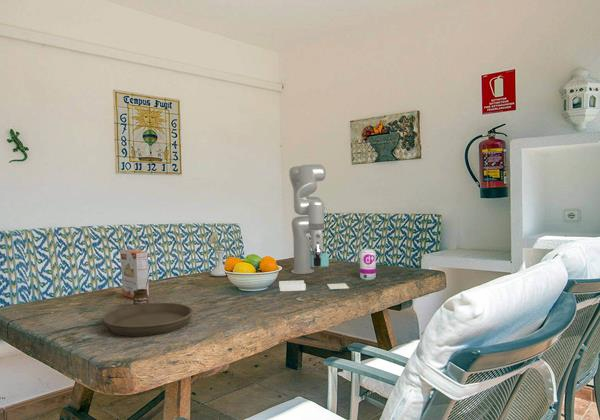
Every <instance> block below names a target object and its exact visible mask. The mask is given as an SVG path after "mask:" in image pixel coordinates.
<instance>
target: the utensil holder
mask: <svg viewBox="0 0 600 420" xmlns="http://www.w3.org/2000/svg"><path fill="white" fill-rule="evenodd" d="M149 277H150V276H148V279H150V278H149ZM148 279H147V283H146V287H147V284H148ZM136 282H138V281H136ZM137 284H139V283H137ZM133 285H134V284H133ZM138 287H139V286H138ZM132 302H133V304H132V305H138V304H147V303H150V302H149V298H148V294H147V289H146V288H145V289H137V290H135V289H134V296H133V301H132Z"/></svg>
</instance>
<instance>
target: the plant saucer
mask: <svg viewBox="0 0 600 420" xmlns="http://www.w3.org/2000/svg"><path fill="white" fill-rule="evenodd" d="M193 315H194V309H193V308H192V307H191V306H189V305H187V304H183V303H175V302H149V303H147V304H138V305H133V304H132V305H128V306H122V307H118V308H116V309H114V310H111V311H109V312H107V313H105V314H104V315H103V316H102V318H101V320H102V323H103V324H104V326H105V327H107V328H108V329H109V331H111V332H112V333H113V334H117V335H120V336H127V335H128V336H129V337H131V336H132V337H137V336H138V337H139V336H141V337H143V336H142V335H145V336H152V335H153V336H154V335H158V334H159V335H160V334H165V333H169V332H173V331H176V330H178V329H181V328H183V327H184V326H186V324H187V323H188V321H189V320H190V319H192V317H193Z"/></svg>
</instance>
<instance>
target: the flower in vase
mask: <svg viewBox="0 0 600 420" xmlns="http://www.w3.org/2000/svg"><path fill="white" fill-rule="evenodd" d="M218 234H219V233H218V232H217V231H214V232H213V233H212V234H211V235H210V237H209V239H208V244H213V243H214V242H215V243H216V245H215V246H214V247H213V250H215V252H216V254H217V259H218V263H217V265H216V266H215V267H214V268H213V269H211V271H210V275H211V276H213V277H227V276H226V274H225V272H224V267H226V265H224V263H223V257H224V253H226V252H225V250H222V249H223V247H224V246H223V244H222V243H220V244H218V242H217V241H218V240H217V237H218ZM217 249H218V250H217Z"/></svg>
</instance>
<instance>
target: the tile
mask: <svg viewBox="0 0 600 420" xmlns="http://www.w3.org/2000/svg"><path fill="white" fill-rule="evenodd" d="M326 285H327V287H328V289H329V290H338V289H340V290H343V289H345V290H346V289H350V287H349V286H348V284H347V283H345V282H344V283H341V282H340V283H327V284H326Z"/></svg>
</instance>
